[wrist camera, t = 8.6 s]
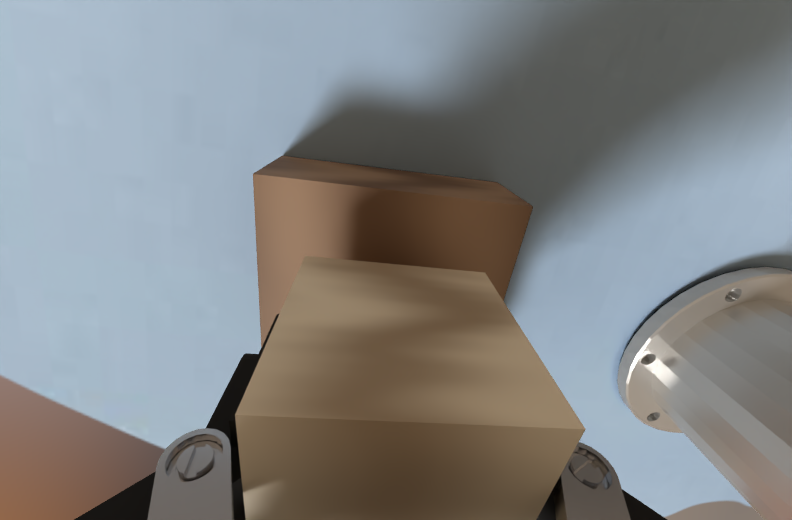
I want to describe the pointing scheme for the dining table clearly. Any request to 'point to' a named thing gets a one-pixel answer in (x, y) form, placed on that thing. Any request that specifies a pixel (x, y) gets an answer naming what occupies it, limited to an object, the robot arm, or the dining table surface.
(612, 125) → the dining table surface
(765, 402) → the robot arm
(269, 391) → the maple cube
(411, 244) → the walnut base
